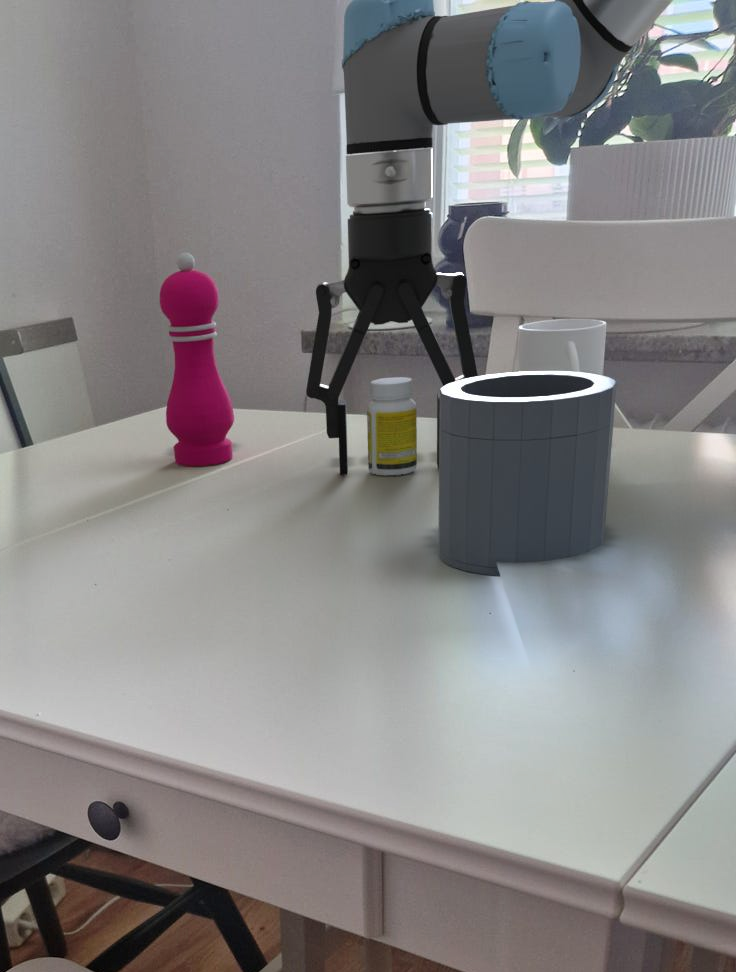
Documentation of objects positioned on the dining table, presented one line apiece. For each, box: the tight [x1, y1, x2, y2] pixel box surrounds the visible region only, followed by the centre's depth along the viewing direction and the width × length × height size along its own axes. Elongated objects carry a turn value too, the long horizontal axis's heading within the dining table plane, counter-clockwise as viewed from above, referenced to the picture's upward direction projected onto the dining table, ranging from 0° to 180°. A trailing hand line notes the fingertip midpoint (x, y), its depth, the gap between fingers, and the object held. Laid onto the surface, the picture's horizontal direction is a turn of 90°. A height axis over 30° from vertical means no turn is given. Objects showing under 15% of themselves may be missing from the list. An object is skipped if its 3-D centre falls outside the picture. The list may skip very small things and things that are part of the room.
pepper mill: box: [159, 252, 235, 468], centre depth 120 cm, size 7×7×20 cm
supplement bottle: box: [366, 376, 418, 477], centre depth 113 cm, size 5×5×8 cm
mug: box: [516, 318, 607, 376], centre depth 111 cm, size 12×8×12 cm
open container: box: [437, 371, 618, 577], centre depth 86 cm, size 12×12×12 cm
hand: (392, 468), depth 115 cm, fingers open, 9 cm apart
